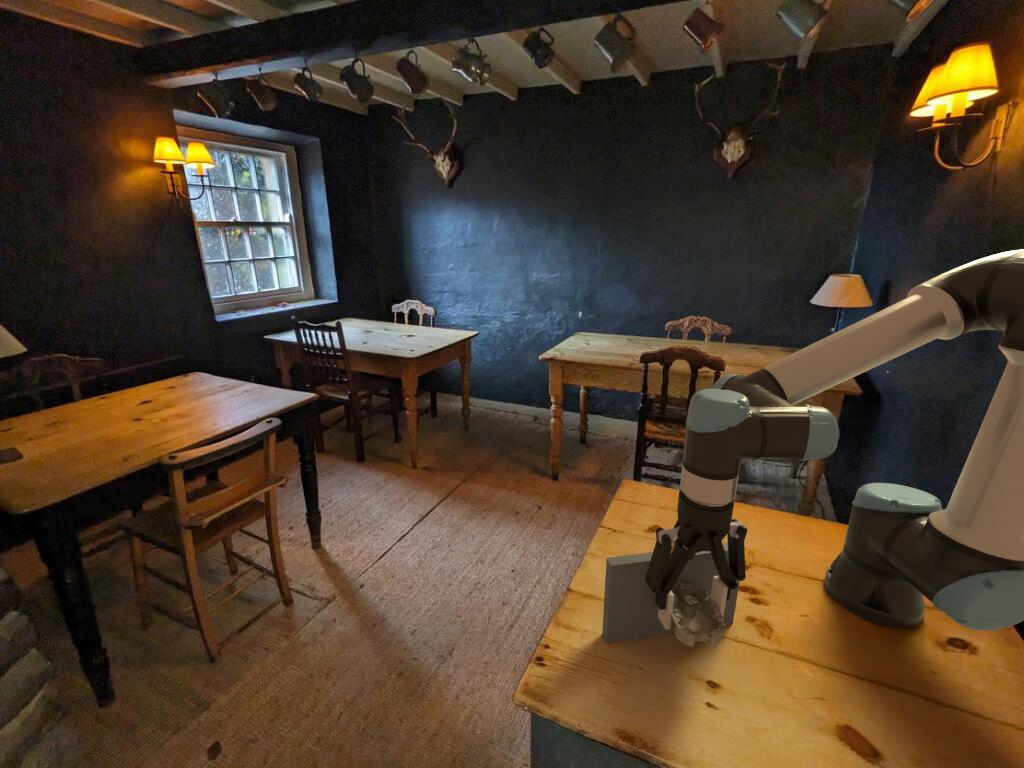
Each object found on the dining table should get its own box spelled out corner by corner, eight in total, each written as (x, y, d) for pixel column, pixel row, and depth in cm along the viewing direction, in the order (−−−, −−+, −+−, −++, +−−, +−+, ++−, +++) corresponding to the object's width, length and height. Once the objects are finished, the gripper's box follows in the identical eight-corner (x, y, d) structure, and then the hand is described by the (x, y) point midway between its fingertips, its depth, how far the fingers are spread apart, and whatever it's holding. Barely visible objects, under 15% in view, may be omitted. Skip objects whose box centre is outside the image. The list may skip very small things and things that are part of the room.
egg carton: (725, 651, 68) (729, 630, 67) (673, 646, 69) (675, 624, 68) (707, 598, 78) (710, 578, 77) (661, 594, 79) (663, 574, 78)
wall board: (726, 615, 85) (737, 541, 80) (763, 661, 75) (778, 580, 71) (602, 634, 81) (606, 557, 76) (624, 685, 72) (631, 602, 67)
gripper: (754, 475, 73) (734, 593, 79) (627, 487, 69) (618, 610, 76) (789, 500, 66) (764, 627, 72) (650, 515, 62) (638, 647, 69)
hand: (690, 618), depth 74 cm, fingers closed on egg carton, 8 cm apart
